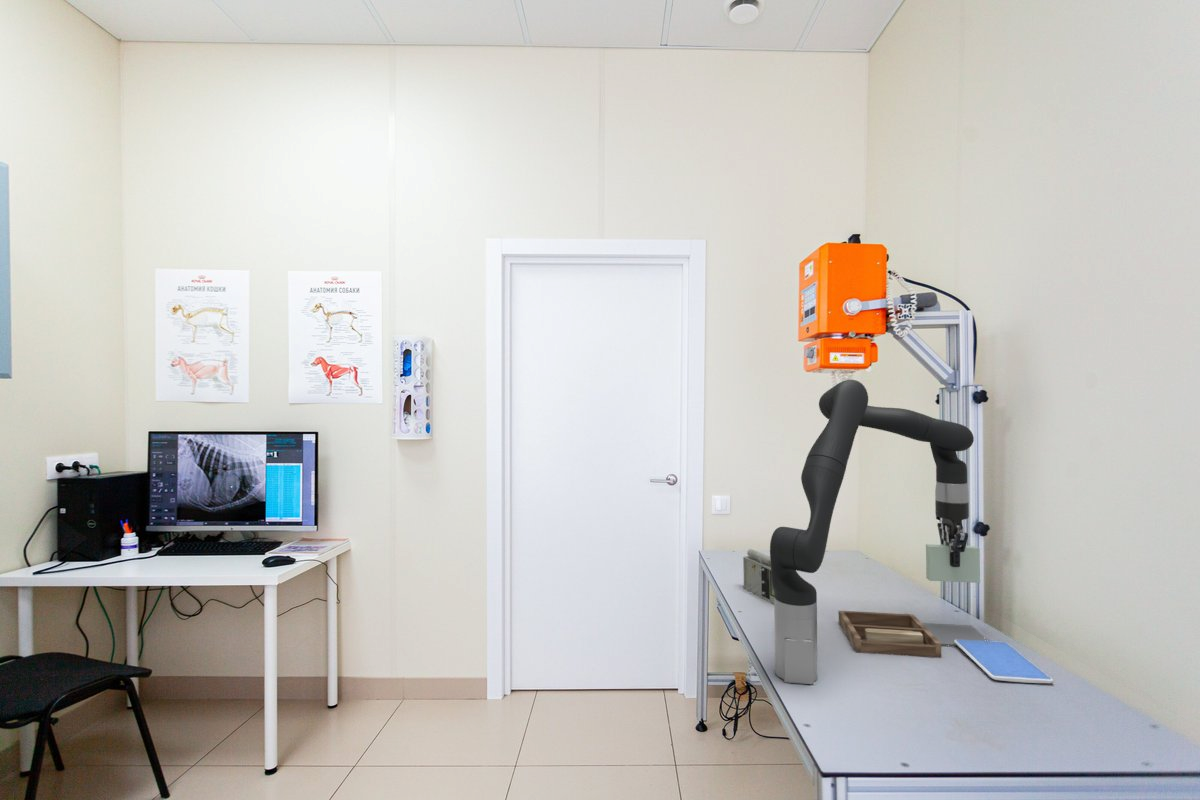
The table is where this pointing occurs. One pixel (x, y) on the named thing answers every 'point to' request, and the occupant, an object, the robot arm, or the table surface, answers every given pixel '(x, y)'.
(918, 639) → the offcut stack
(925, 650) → the storage rack
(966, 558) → the tall block
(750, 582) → the geiger counter
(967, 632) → the mat
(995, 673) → the tablet computer
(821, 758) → the table surface
